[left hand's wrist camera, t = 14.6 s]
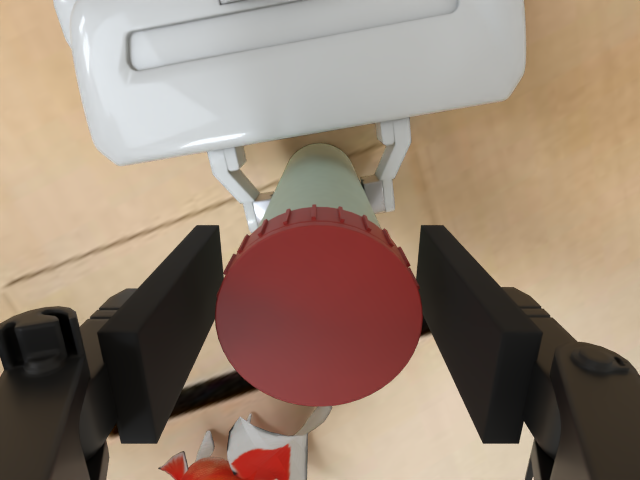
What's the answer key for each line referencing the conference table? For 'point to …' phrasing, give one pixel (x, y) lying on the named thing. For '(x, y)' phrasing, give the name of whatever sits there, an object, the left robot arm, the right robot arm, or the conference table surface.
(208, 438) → the fish
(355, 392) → the lid
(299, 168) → the green bottle
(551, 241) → the conference table surface
